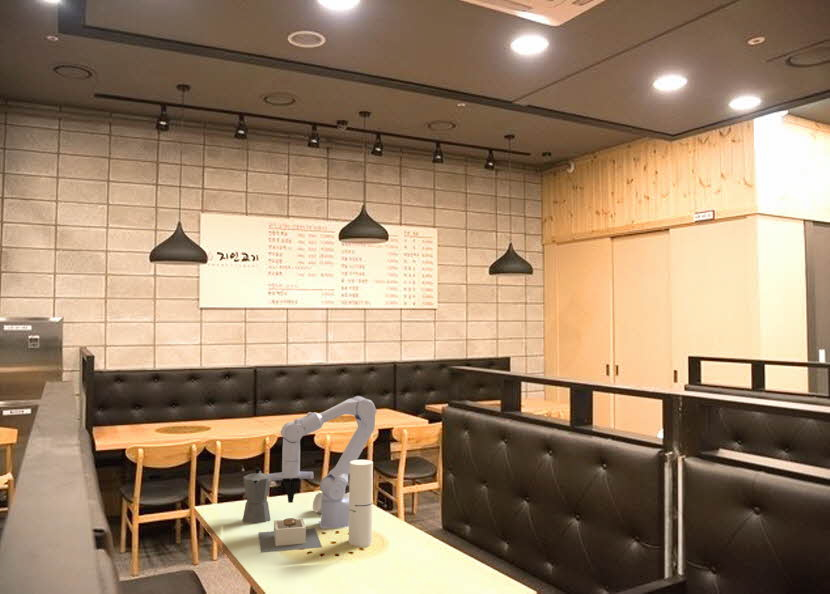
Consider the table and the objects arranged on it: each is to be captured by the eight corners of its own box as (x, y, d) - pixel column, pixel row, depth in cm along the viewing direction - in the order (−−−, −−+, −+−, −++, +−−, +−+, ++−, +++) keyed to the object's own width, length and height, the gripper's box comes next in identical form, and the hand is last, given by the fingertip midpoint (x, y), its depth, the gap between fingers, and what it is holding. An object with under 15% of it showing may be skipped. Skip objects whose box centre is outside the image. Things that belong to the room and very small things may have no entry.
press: (302, 533, 207) (302, 518, 207) (305, 543, 198) (305, 527, 198) (273, 535, 204) (274, 520, 204) (275, 545, 196) (275, 529, 196)
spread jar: (353, 510, 234) (354, 477, 235) (333, 518, 225) (334, 484, 225) (328, 504, 241) (328, 473, 241) (307, 512, 231) (308, 479, 231)
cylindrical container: (368, 548, 196) (369, 465, 197) (345, 546, 197) (346, 464, 198) (374, 540, 203) (375, 460, 204) (352, 538, 204) (353, 459, 205)
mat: (314, 529, 212) (314, 528, 212) (322, 549, 195) (322, 547, 195) (258, 534, 207) (258, 532, 207) (260, 554, 190) (260, 552, 190)
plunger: (298, 532, 205) (299, 516, 205) (300, 539, 199) (301, 522, 199) (278, 534, 203) (278, 517, 204) (279, 541, 197) (279, 524, 197)
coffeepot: (268, 526, 215) (269, 472, 215) (239, 527, 214) (240, 472, 214) (272, 512, 230) (273, 461, 231) (245, 513, 229) (246, 462, 229)
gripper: (312, 456, 217) (311, 496, 217) (267, 458, 214) (267, 499, 213) (314, 460, 211) (313, 502, 210) (268, 463, 207) (268, 505, 206)
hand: (290, 501), depth 211 cm, fingers closed
